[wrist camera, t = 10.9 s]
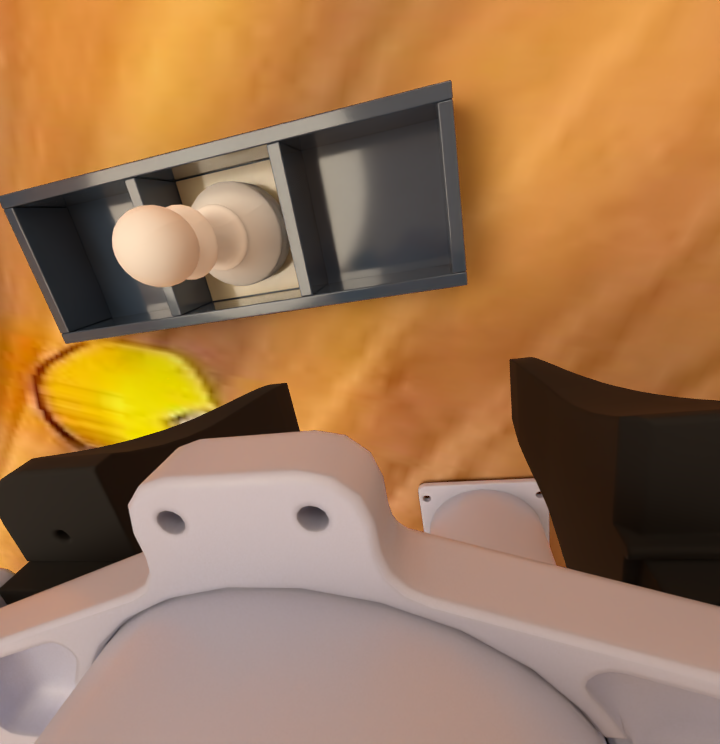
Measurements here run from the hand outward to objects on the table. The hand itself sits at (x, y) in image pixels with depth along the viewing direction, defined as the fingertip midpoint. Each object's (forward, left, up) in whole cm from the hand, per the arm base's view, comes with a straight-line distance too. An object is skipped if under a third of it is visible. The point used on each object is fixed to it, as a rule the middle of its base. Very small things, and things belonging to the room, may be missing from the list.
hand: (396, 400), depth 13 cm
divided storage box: (+6, +8, -10) cm, 14 cm away
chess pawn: (+6, +8, -10) cm, 14 cm away
